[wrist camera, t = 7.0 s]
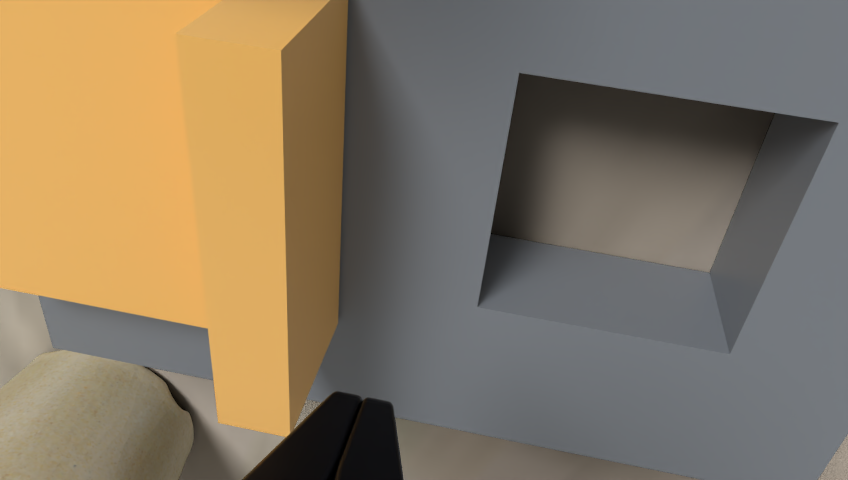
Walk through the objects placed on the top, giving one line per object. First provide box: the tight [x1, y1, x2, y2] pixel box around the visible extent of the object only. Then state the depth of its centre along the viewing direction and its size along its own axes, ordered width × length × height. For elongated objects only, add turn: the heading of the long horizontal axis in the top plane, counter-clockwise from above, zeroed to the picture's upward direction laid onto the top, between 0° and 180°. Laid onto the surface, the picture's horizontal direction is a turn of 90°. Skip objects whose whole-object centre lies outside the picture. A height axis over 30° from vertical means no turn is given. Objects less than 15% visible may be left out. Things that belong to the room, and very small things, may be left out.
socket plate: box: [38, 0, 848, 480], centre depth 16 cm, size 20×14×3 cm
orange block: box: [0, 0, 348, 437], centre depth 14 cm, size 8×8×4 cm
